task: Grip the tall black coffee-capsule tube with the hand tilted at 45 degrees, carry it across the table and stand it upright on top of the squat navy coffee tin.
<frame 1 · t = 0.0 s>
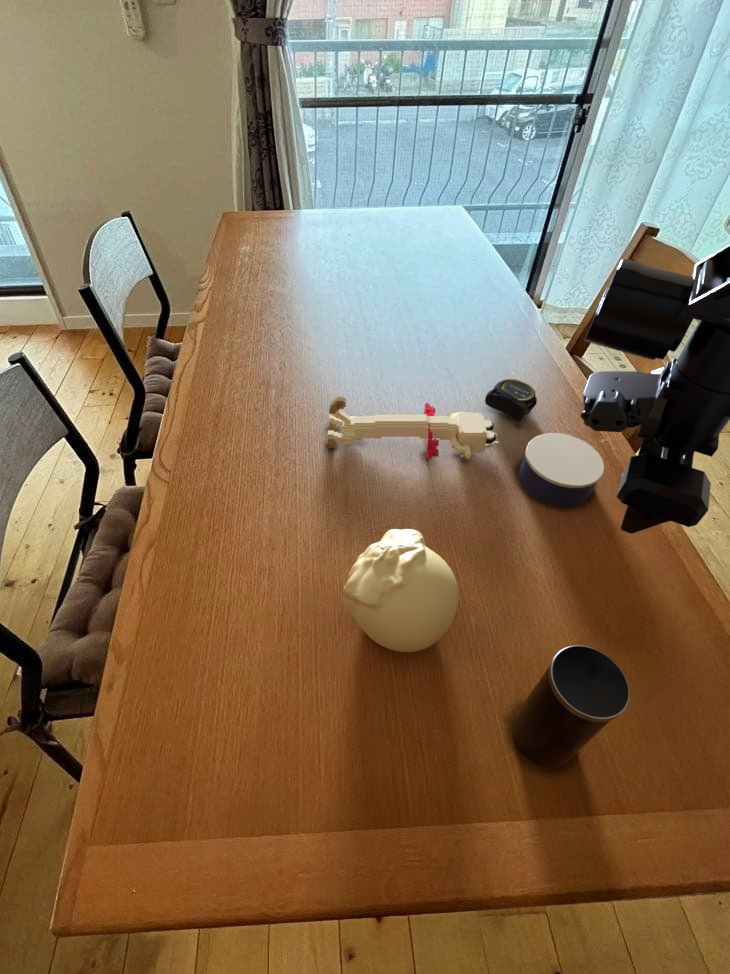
hand: (632, 499, 56), 15 cm above the table, tool pointing down, fingers open, 9 cm apart
capsule tube: (542, 735, 55), on the table
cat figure: (410, 443, 84), on the table
coffee tin: (554, 480, 79), on the table
sculpture: (396, 616, 64), on the table
tape measure: (508, 412, 90), on the table
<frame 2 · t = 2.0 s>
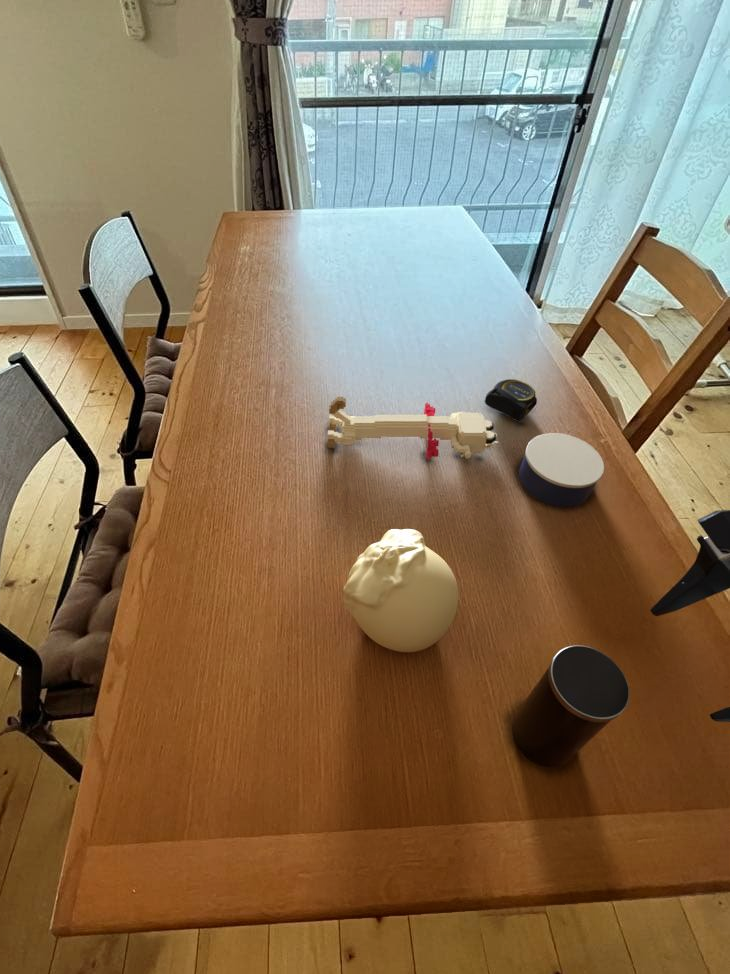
hand: (680, 662, 46), 13 cm above the table, tool tilted 45°, fingers open, 9 cm apart
nothing on the table moved.
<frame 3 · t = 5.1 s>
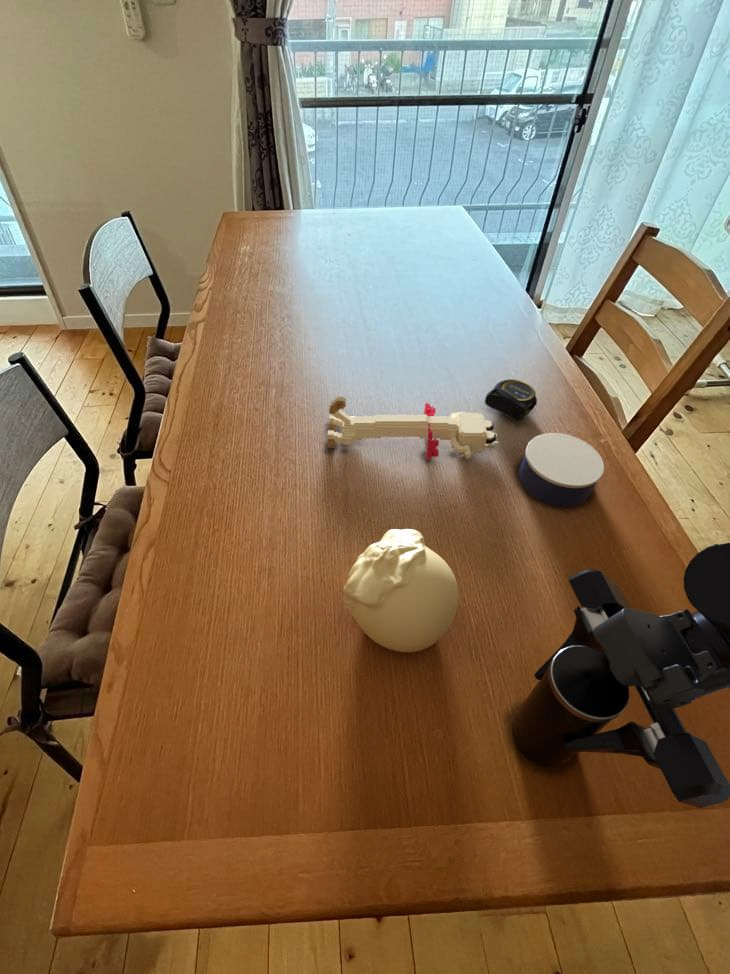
hand: (549, 711, 50), 7 cm above the table, tool tilted 45°, fingers closed on capsule tube, 6 cm apart
capsule tube: (542, 735, 55), on the table, touching gripper
everything else where it was.
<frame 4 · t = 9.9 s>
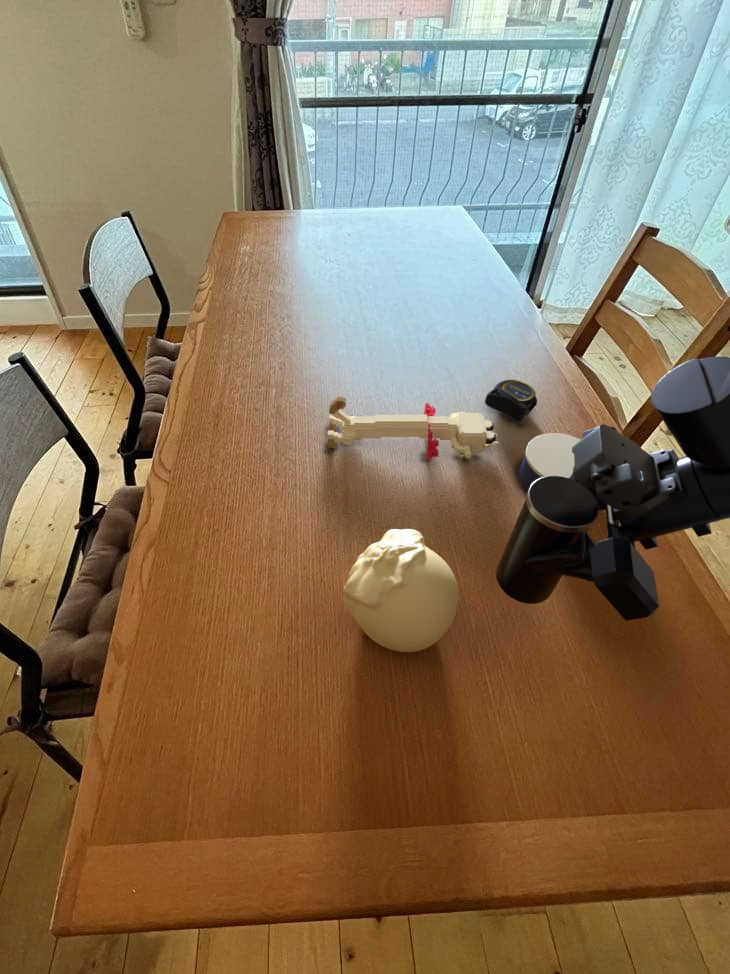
hand: (528, 538, 55), 14 cm above the table, tool tilted 45°, fingers closed on capsule tube, 6 cm apart
capsule tube: (524, 579, 59), point 7 cm above the table, touching gripper
everything else where it was.
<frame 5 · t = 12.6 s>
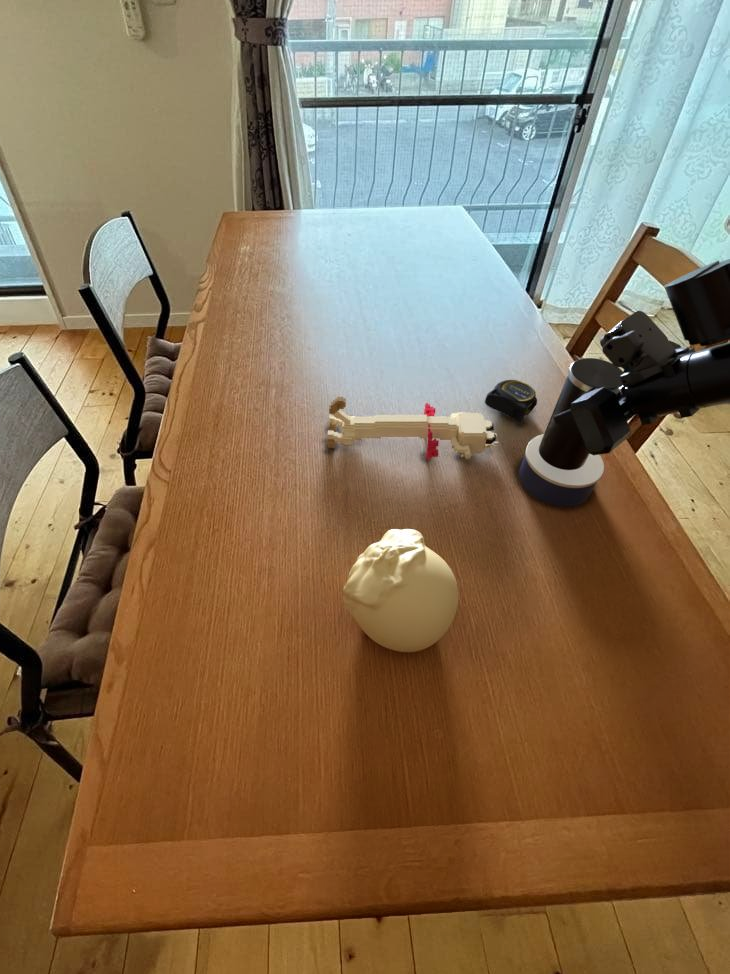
hand: (569, 410, 69), 13 cm above the table, tool tilted 45°, fingers closed on capsule tube, 6 cm apart
capsule tube: (561, 454, 73), point 7 cm above the table, touching gripper
everything else where it was.
when the fingers open (11 cm above the table, at t = 14.9 s): capsule tube stays where it is, resting on coffee tin.
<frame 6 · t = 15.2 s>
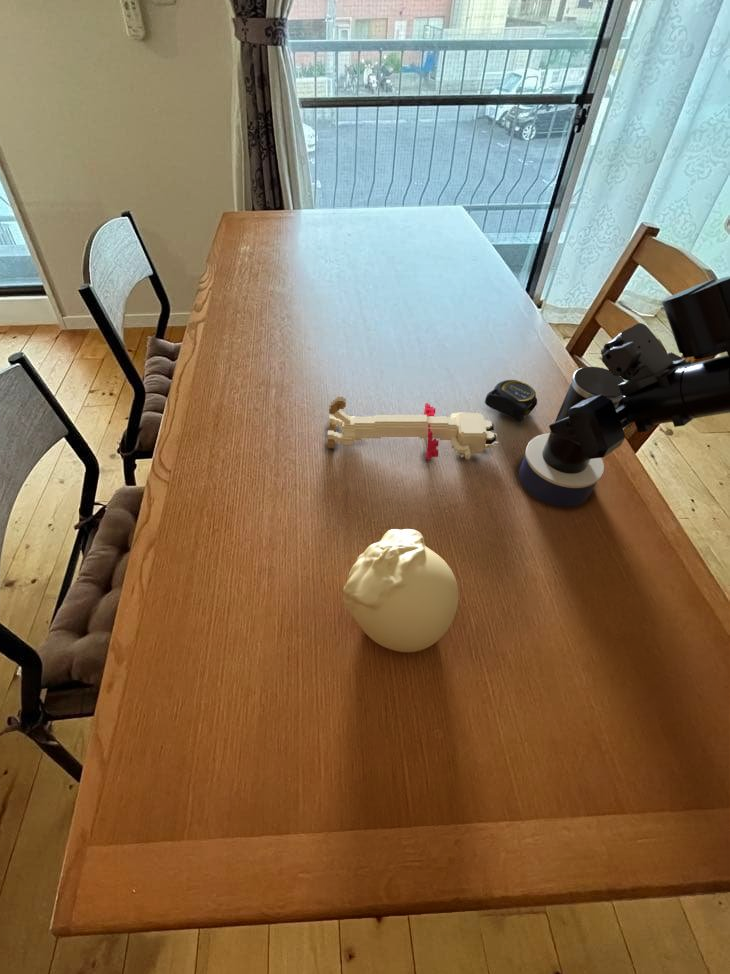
hand: (572, 415, 72), 11 cm above the table, tool tilted 45°, fingers open, 9 cm apart
capsule tube: (564, 458, 76), point 4 cm above the table, touching coffee tin
coffee tin: (554, 480, 79), on the table, touching capsule tube
everything else where it was.
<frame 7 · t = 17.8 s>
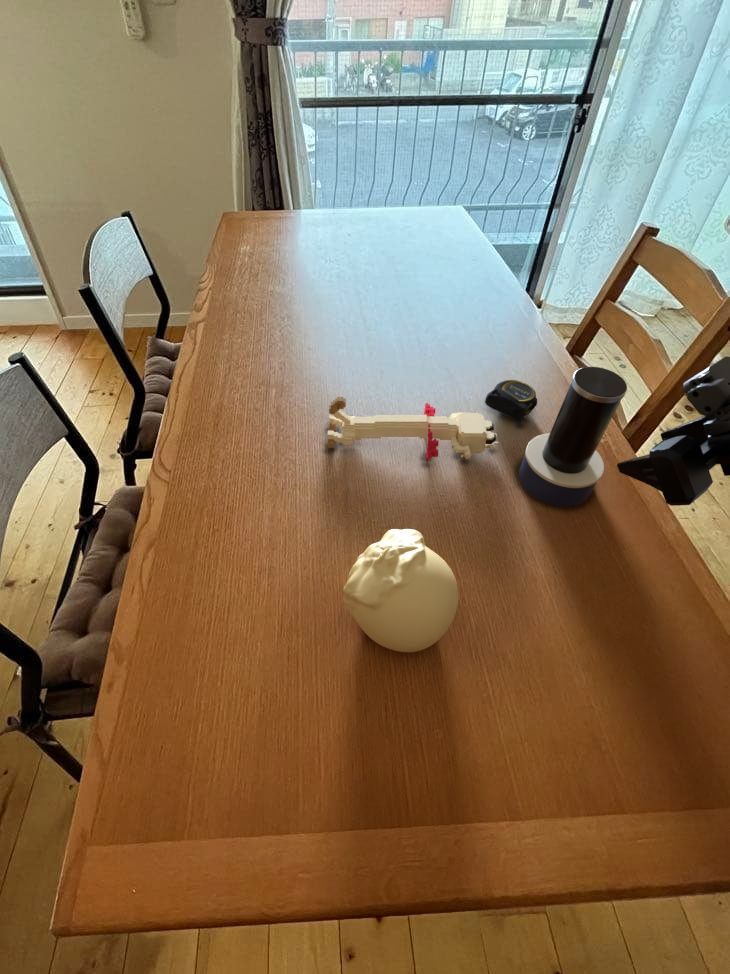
hand: (641, 451, 66), 12 cm above the table, tool tilted 45°, fingers open, 9 cm apart
nothing on the table moved.
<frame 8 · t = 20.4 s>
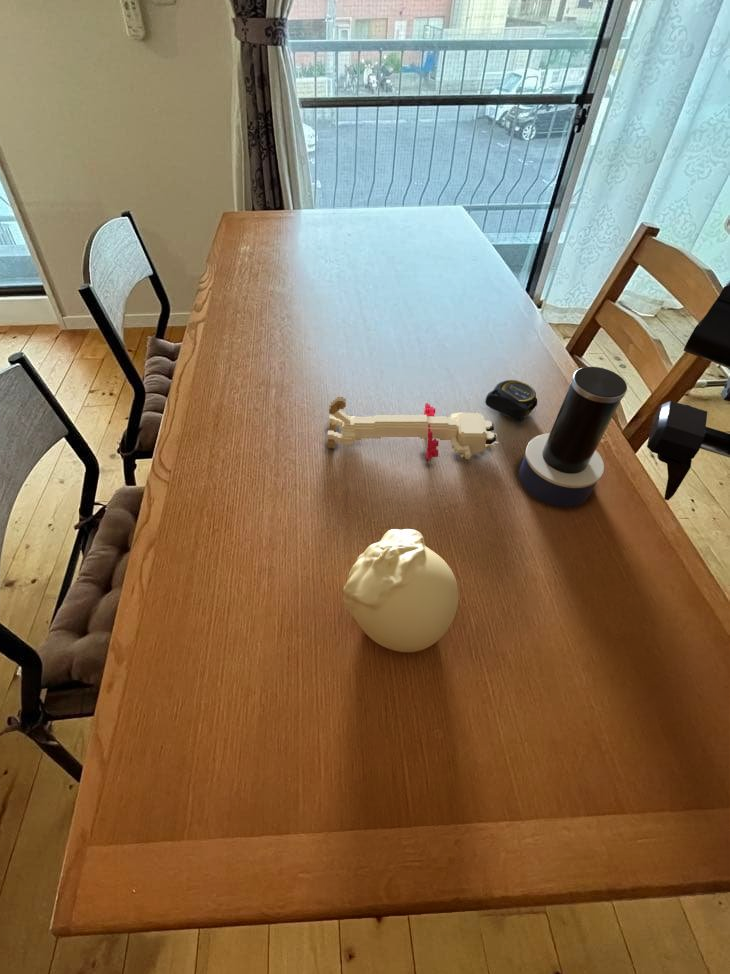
hand: (713, 513, 58), 13 cm above the table, tool pointing down, fingers open, 9 cm apart
nothing on the table moved.
at the end: capsule tube 0.0 cm off-centre on the coffee tin, point 4.5 cm above the coffee tin's base; capsule tube tilted 0°; capsule tube touching coffee tin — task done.
